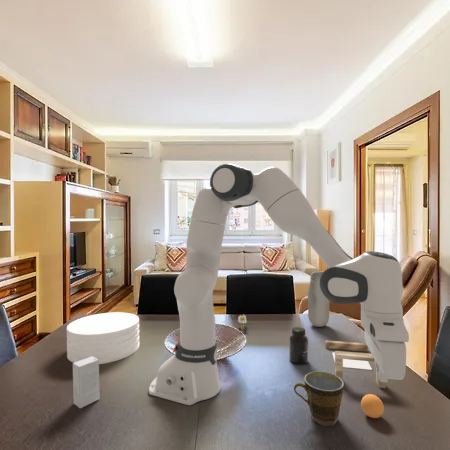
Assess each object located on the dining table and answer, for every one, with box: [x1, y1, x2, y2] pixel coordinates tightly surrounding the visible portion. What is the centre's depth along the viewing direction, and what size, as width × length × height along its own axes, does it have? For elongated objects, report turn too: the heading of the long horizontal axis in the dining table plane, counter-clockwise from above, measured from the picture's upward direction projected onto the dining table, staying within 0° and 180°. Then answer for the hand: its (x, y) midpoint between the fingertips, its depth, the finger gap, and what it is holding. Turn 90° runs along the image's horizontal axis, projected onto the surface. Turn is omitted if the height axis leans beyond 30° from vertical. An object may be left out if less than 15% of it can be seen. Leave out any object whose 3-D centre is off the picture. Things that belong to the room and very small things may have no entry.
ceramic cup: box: [293, 370, 345, 427], centre depth 80 cm, size 13×10×10 cm
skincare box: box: [72, 356, 101, 409], centre depth 88 cm, size 6×4×12 cm
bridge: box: [334, 350, 386, 389], centre depth 97 cm, size 3×14×9 cm, turn 76°
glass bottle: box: [307, 269, 330, 328], centre depth 150 cm, size 10×10×28 cm
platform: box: [237, 313, 248, 331], centre depth 149 cm, size 12×18×7 cm, turn 179°
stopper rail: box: [324, 339, 369, 353], centre depth 123 cm, size 16×2×2 cm, turn 76°
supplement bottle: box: [288, 326, 309, 365], centre depth 113 cm, size 7×7×12 cm
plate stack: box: [66, 311, 140, 365], centre depth 126 cm, size 28×28×12 cm
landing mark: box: [332, 351, 373, 371], centre depth 112 cm, size 12×12×1 cm
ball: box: [360, 393, 385, 419], centre depth 80 cm, size 6×6×6 cm
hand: (382, 379), depth 71 cm, fingers closed
